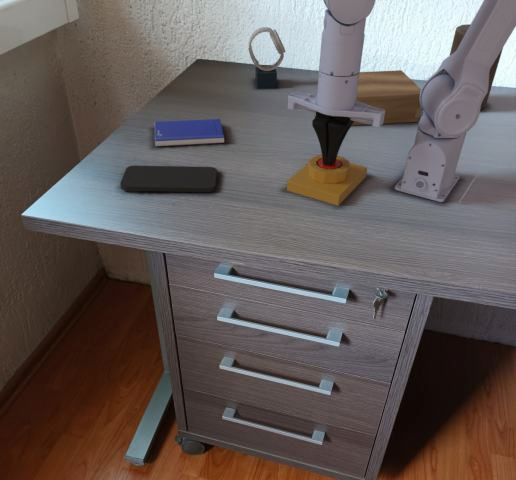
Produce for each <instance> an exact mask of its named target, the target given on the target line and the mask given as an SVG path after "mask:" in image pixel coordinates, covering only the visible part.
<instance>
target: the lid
mask: <svg viewBox="0 0 516 480" xmlns="http://www.w3.org/2000/svg"><path fill="white" fill-rule="evenodd" d="M421 89H422V88H421V87H420V86H418V84H417V83H415V82H414V80H413V79H411V78H410V77H409V76H408V75H407V74H406V73H405V72H404V71H403V70H400V69H399V70H397V69H396V70H379V71H378V70H377V71H360V75H359V82H358V90H357V97H356V100H357V101H373V100H393V99H412V98H419V97H420V91H421Z"/></svg>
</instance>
